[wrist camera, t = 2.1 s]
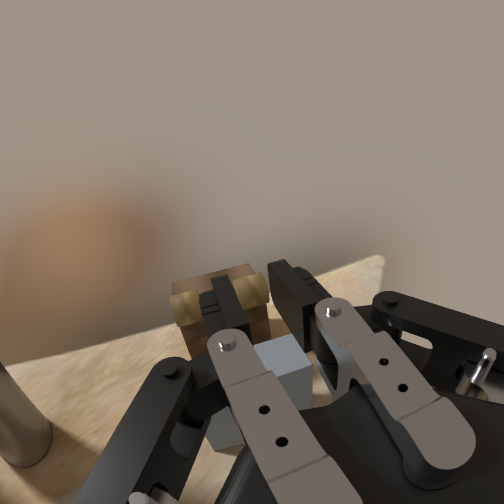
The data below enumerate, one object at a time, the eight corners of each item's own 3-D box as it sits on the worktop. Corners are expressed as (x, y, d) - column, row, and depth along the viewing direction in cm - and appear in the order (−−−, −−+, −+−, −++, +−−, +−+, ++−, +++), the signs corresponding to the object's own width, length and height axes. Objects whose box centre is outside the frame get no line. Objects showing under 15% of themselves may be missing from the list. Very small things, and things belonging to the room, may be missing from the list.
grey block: (214, 451, 24) (180, 388, 19) (200, 393, 31) (172, 323, 26) (311, 421, 26) (312, 349, 21) (284, 369, 33) (275, 295, 28)
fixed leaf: (197, 377, 33) (170, 307, 29) (189, 336, 41) (167, 271, 36) (276, 355, 35) (267, 282, 31) (257, 318, 42) (246, 251, 38)
